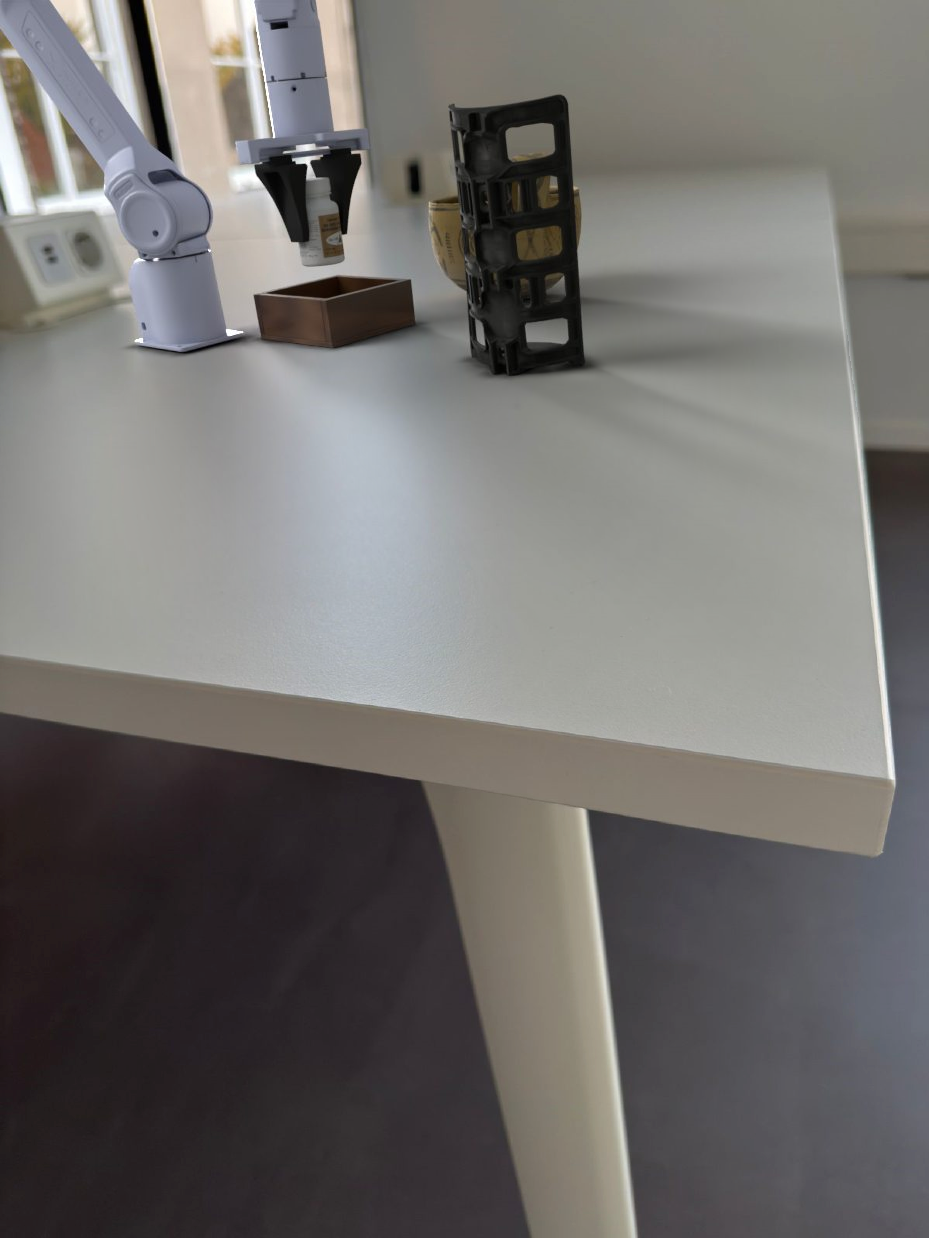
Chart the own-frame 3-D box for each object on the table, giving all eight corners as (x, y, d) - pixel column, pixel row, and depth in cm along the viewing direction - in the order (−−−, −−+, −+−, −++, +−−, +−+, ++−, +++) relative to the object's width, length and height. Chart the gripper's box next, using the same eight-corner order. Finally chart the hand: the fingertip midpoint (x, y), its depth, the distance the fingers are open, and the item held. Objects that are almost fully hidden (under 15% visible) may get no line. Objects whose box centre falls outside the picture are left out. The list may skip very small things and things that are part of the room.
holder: (602, 350, 80) (586, 85, 69) (573, 382, 75) (551, 100, 64) (484, 350, 85) (452, 101, 74) (449, 380, 79) (408, 116, 68)
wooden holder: (260, 338, 99) (252, 294, 97) (343, 316, 106) (337, 274, 104) (332, 348, 92) (325, 300, 90) (415, 323, 99) (411, 279, 97)
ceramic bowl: (613, 302, 100) (612, 145, 93) (459, 323, 97) (445, 163, 90) (550, 275, 119) (545, 143, 112) (419, 291, 117) (406, 157, 110)
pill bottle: (337, 266, 92) (325, 179, 88) (295, 268, 93) (281, 182, 89) (351, 259, 96) (340, 175, 92) (310, 261, 97) (298, 179, 93)
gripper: (258, 80, 80) (286, 250, 86) (382, 74, 89) (399, 228, 95) (211, 87, 84) (241, 248, 91) (334, 80, 93) (353, 227, 100)
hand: (319, 238), depth 93 cm, fingers closed on pill bottle, 4 cm apart
